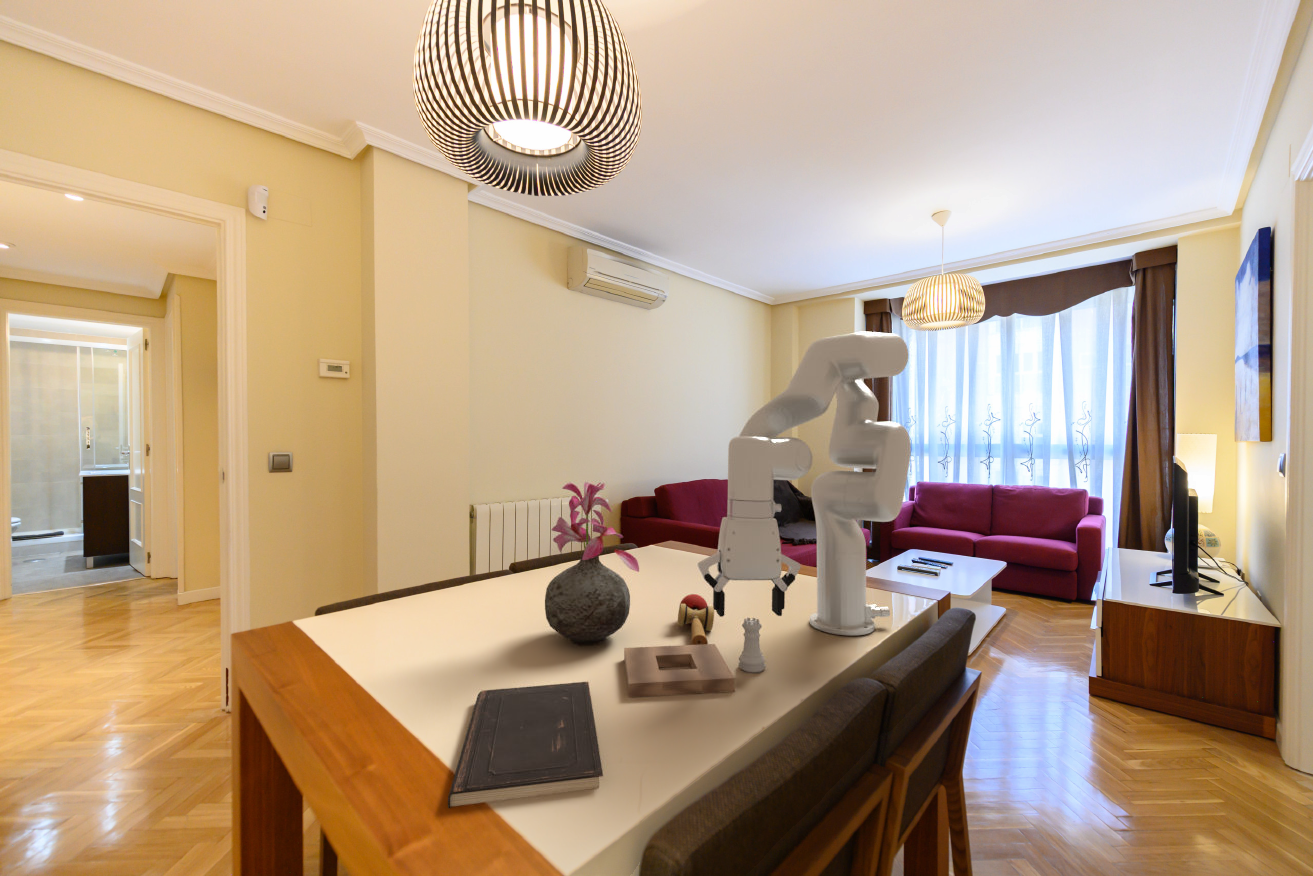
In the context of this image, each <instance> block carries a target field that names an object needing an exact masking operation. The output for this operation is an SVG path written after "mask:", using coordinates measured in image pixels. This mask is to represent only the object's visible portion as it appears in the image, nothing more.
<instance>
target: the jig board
mask: <svg viewBox="0 0 1313 876" xmlns="http://www.w3.org/2000/svg"><path fill="white" fill-rule="evenodd" d="M623 650H624V654H623V655H624V667H625V668H624V669H625V676H626V677H625V678H626V685H627V692H628V694H627V695H628V698H639V697H640V698H641V697H657V696H659V697H660V696H674V695H678V696H679V695H695V694H697V695H698V694H710V693H711V694H713V693H730V692H731V693H732V692H735V691H736V689H735V688H736V687H735V683H736V682H735V679H736V678H735V676H734V675H733V673H732V671H731V669H730V668H729V666H728V664H727V663H726V660H725V659H724V657H723V655H722V654H721V652H720V650H719V648H718V647H717V645H716V644H715V643H708V644H701V645H692V644H686V645H685V644H684V645H683V644H681V645H664V646H663V645H660V646H642V647H641V646H638V647H624V648H623ZM672 667H673V668H674V667H675V668H677V667H691V668H689V669H687V668H686V669H685V668H684V669H669V670H668V669H667V670H660V669H659V668H672Z"/></svg>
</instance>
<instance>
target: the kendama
mask: <svg viewBox="0 0 1313 876" xmlns="http://www.w3.org/2000/svg"><path fill="white" fill-rule="evenodd" d="M714 621H715V610H714V608H713V605H712V606H709V605H708V603H707V601H706V599H704V597H702V596H701V595H699V594H697V593H696V594H695V593H691V594H688V595H686V596H684V597H683V598H682V599H681V601H680V603H679V607H678V614H677V626H678V627H681V628H682V627H684V626H686V625H688V624H690V625H691V630H690V631H691V643H690V644H691V645H701V644H709V643H708V638H707V635H706V633H705V632H706V631H707V632H711V631H712V630H713V626H714Z"/></svg>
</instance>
